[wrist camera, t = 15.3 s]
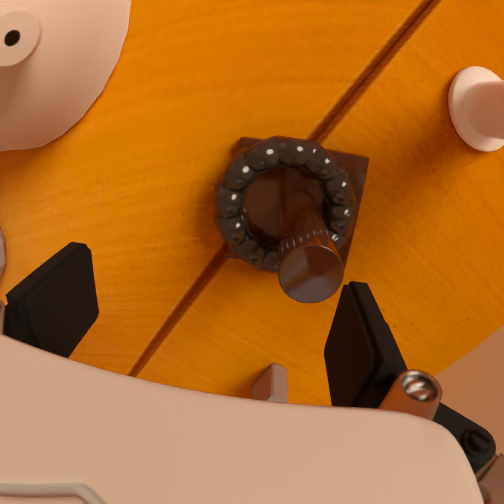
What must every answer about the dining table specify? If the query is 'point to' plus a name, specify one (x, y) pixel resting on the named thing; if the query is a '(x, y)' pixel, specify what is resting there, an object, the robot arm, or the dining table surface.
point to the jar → (2, 252)
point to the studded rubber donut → (265, 159)
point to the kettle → (54, 64)
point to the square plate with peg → (301, 225)
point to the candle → (478, 108)
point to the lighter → (271, 385)
